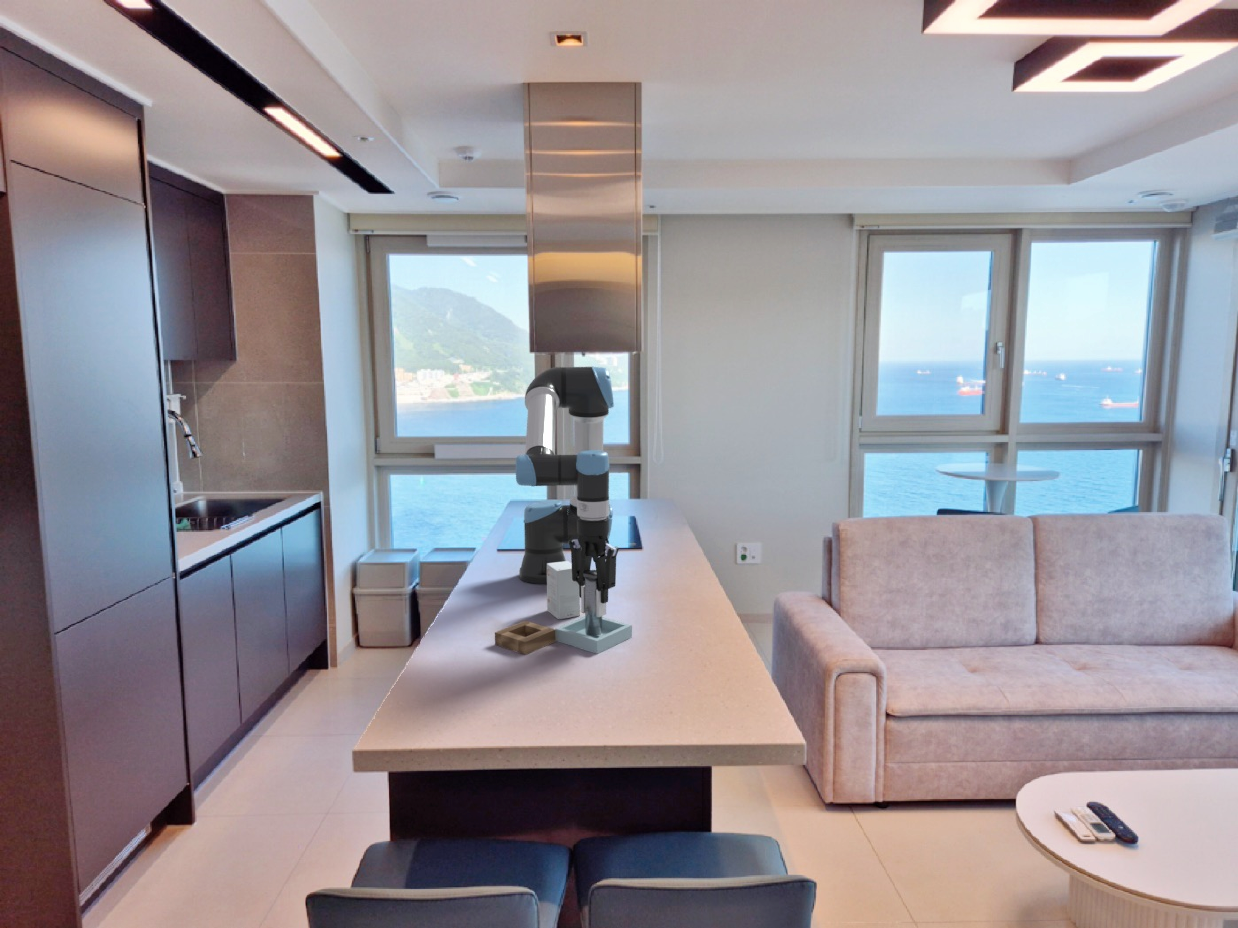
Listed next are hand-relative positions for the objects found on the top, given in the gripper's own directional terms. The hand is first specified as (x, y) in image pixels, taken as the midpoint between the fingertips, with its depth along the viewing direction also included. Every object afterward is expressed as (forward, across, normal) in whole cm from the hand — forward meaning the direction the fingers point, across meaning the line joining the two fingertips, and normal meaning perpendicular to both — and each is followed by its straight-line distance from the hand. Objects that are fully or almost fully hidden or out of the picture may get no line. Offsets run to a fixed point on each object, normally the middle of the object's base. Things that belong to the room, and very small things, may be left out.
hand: (593, 613), depth 179 cm
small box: (+7, -18, +9) cm, 21 cm away
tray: (+6, 0, 0) cm, 6 cm away
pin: (+5, 0, 0) cm, 5 cm away
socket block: (+6, -11, -12) cm, 17 cm away
